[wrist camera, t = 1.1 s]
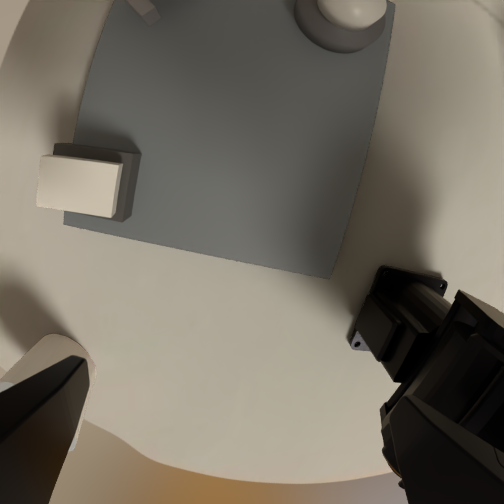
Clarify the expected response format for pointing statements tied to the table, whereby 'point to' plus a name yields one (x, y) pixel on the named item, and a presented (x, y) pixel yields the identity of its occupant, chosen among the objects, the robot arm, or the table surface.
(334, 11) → the push button
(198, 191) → the switch panel
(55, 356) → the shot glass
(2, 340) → the table surface
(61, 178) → the rocker switch
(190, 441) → the table surface
